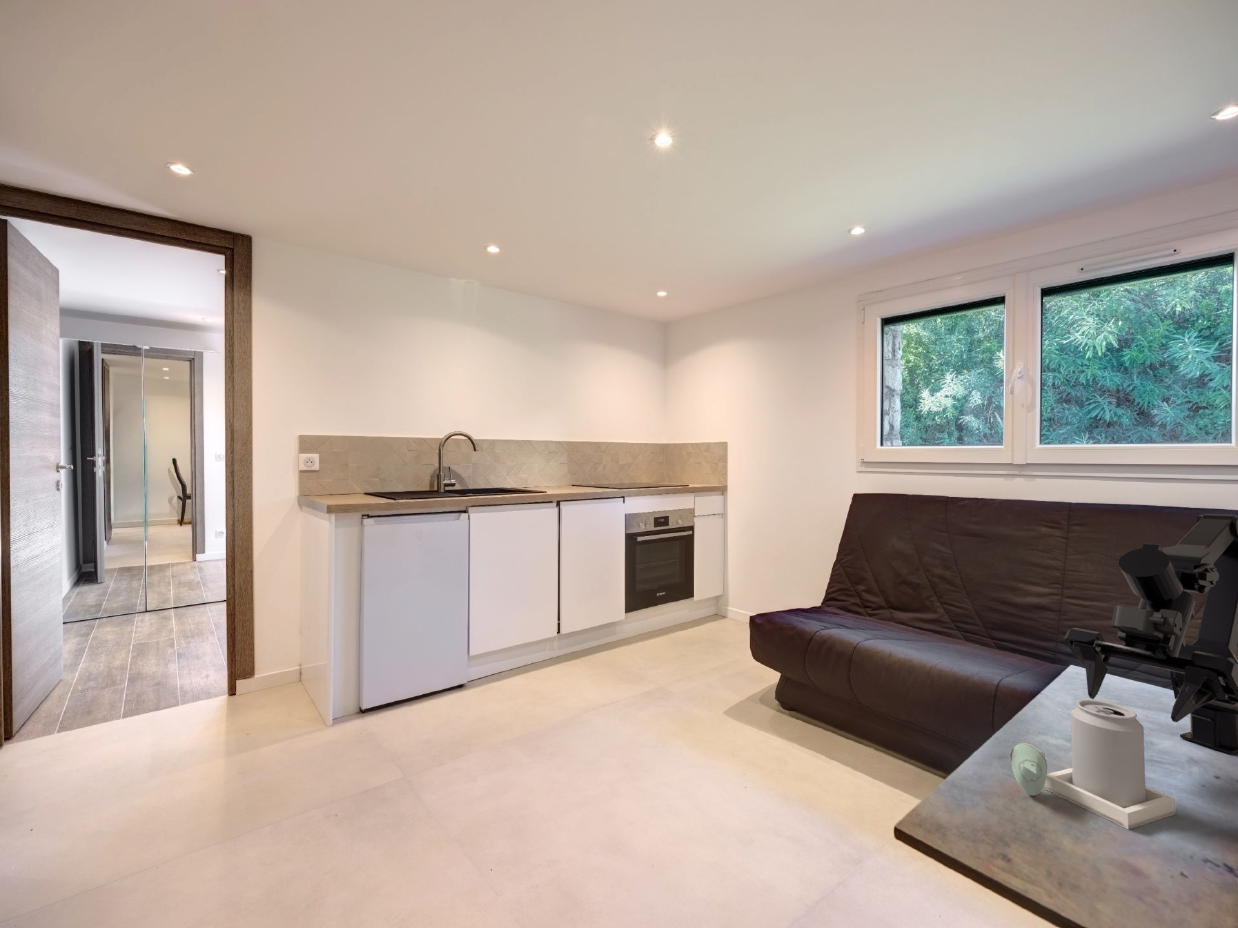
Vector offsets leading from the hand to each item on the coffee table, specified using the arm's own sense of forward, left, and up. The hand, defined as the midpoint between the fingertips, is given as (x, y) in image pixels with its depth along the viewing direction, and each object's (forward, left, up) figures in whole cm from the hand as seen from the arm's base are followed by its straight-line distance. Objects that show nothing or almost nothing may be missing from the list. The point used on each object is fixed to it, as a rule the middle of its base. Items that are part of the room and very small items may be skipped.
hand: (1130, 708), depth 80 cm
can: (+7, +1, -11) cm, 13 cm away
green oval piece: (+16, -4, -11) cm, 20 cm away
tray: (+7, +1, -11) cm, 13 cm away
